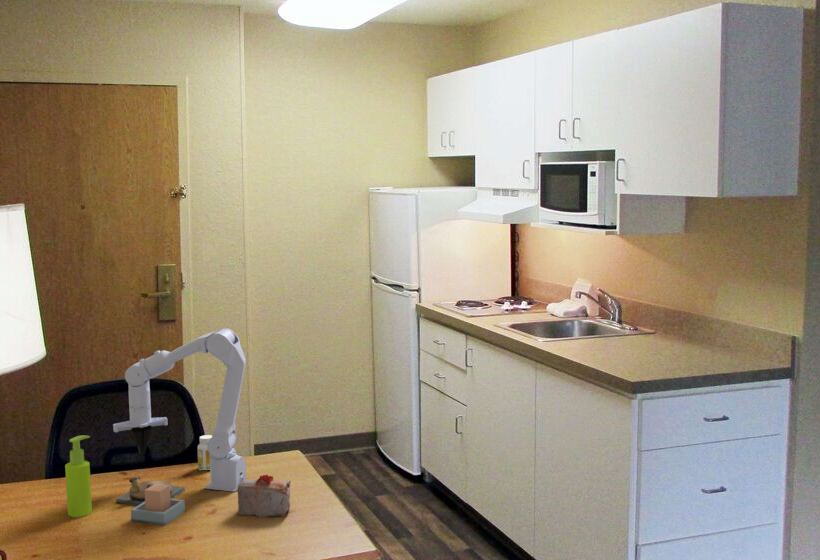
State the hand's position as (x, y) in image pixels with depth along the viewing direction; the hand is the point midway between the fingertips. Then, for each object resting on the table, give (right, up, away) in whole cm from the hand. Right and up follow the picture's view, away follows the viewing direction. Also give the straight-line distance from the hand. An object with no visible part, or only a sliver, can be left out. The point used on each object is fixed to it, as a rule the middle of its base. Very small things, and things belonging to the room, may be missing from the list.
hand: (142, 453), depth 252 cm
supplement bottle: (+15, -8, +15) cm, 23 cm away
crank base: (+5, -10, -8) cm, 14 cm away
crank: (+4, -9, -8) cm, 13 cm away
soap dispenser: (-10, -12, -19) cm, 24 cm away
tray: (+11, -12, -22) cm, 27 cm away
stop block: (+11, -11, -22) cm, 27 cm away
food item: (+38, -12, -20) cm, 44 cm away
